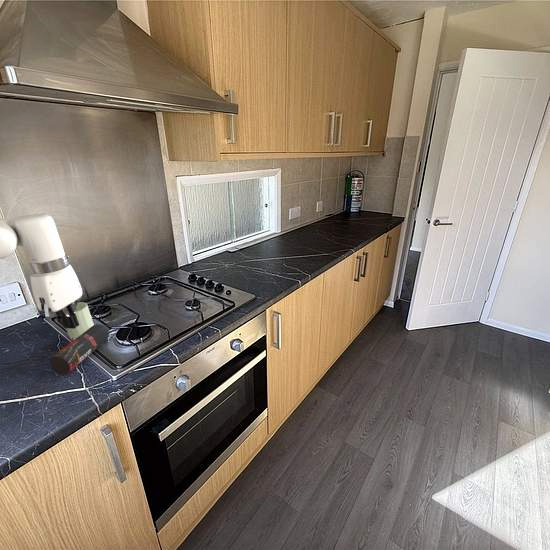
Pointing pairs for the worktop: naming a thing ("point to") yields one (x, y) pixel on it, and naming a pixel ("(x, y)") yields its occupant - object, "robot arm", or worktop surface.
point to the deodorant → (79, 349)
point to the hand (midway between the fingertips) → (72, 326)
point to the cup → (81, 321)
